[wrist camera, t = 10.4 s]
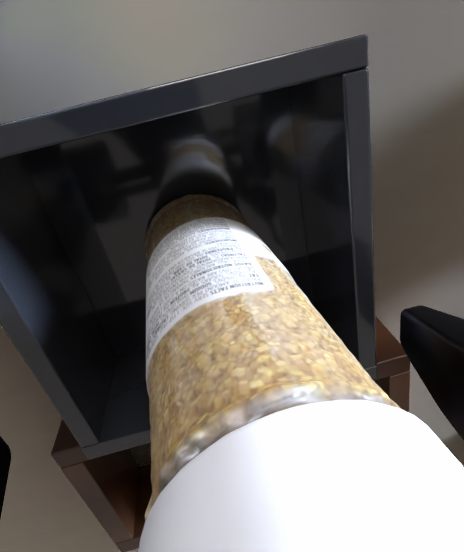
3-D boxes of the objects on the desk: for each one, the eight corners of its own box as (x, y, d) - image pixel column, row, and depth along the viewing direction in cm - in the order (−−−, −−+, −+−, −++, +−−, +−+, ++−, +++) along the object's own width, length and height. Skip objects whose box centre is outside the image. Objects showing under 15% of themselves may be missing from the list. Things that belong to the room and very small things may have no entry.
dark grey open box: (324, 304, 19) (377, 379, 14) (109, 363, 18) (88, 460, 14) (297, 52, 13) (368, 33, 9) (-9, 128, 13) (-114, 152, 8)
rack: (371, 413, 23) (407, 470, 20) (128, 481, 23) (121, 553, 19) (367, 305, 19) (411, 354, 16) (72, 386, 19) (49, 454, 15)
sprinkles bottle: (260, 270, 17) (539, 680, 5) (165, 304, 16) (222, 828, 5) (232, 173, 15) (616, 492, 3) (123, 211, 14) (28, 748, 2)
